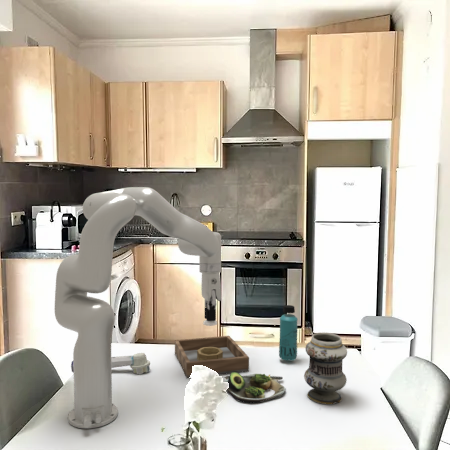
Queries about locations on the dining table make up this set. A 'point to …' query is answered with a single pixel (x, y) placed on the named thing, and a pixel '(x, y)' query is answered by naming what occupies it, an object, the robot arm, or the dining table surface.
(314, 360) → the apothecary jar
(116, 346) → the dining table surface
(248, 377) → the avocado toast plate
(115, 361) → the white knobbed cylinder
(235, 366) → the socket box
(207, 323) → the chess piece
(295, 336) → the beverage bottle
